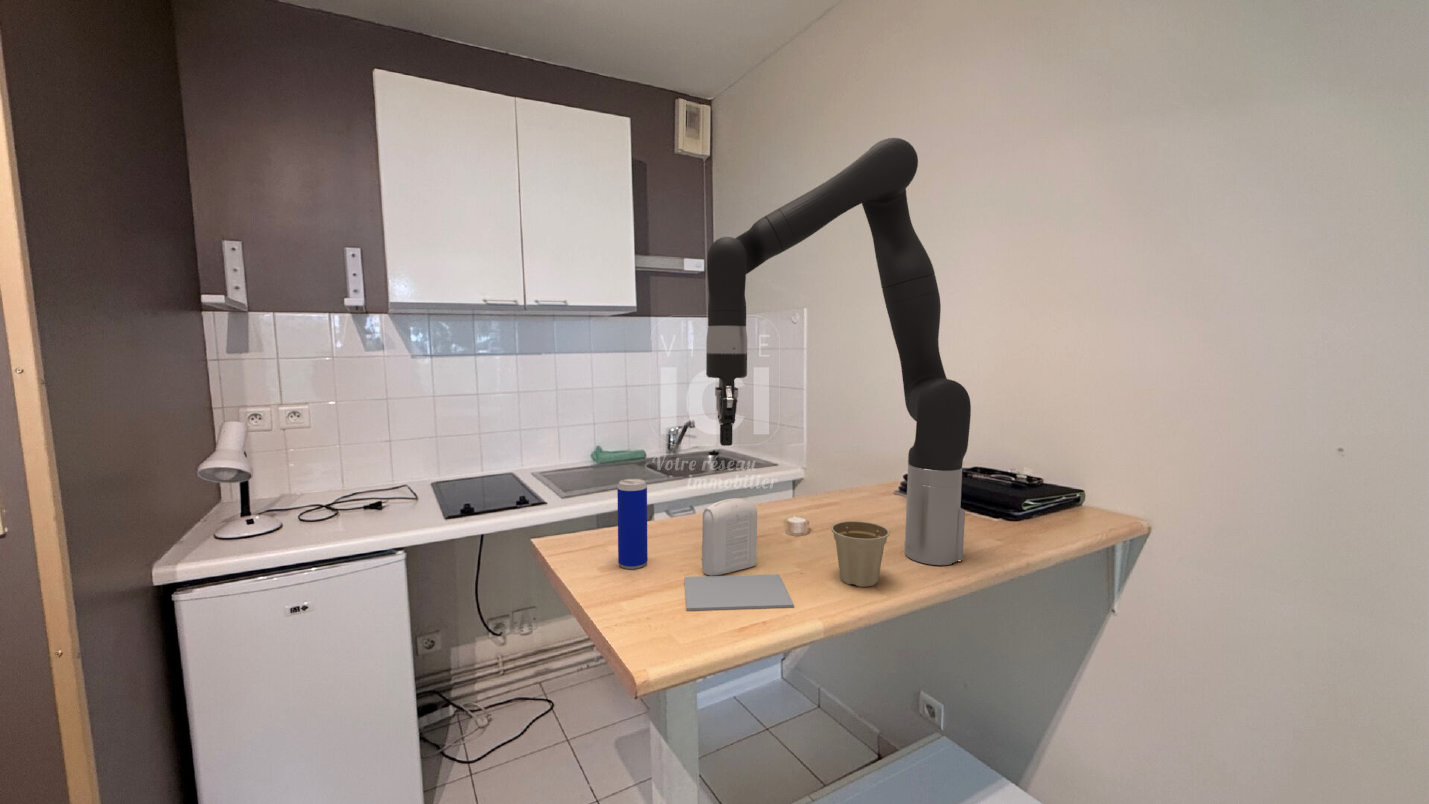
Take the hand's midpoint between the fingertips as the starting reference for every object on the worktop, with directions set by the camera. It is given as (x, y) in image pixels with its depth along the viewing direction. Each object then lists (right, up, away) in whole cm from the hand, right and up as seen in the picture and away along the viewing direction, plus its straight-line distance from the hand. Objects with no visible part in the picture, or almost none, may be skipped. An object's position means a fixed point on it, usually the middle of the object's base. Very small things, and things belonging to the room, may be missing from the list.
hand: (726, 444), depth 101 cm
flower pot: (+22, -22, -10) cm, 33 cm away
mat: (+1, -22, -15) cm, 27 cm away
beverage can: (-17, -21, -4) cm, 27 cm away
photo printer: (+1, -21, -6) cm, 22 cm away
